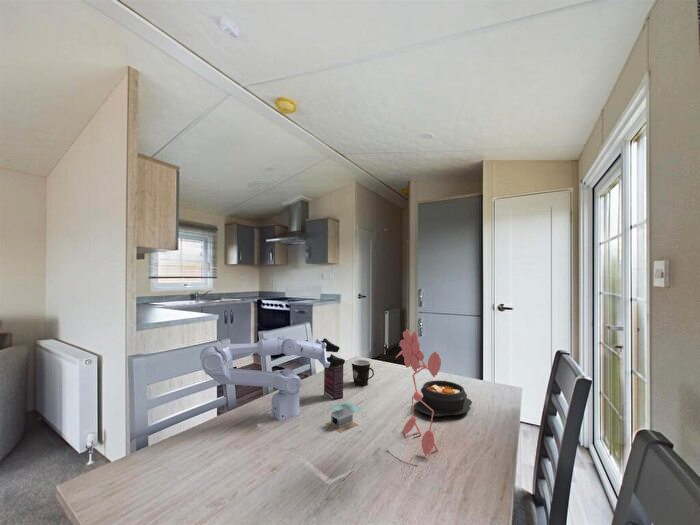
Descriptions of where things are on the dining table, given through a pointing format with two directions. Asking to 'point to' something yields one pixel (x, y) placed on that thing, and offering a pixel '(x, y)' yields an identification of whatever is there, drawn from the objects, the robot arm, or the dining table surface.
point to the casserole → (443, 399)
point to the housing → (341, 418)
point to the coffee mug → (361, 372)
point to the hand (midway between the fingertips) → (341, 355)
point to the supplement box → (333, 382)
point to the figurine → (413, 357)
